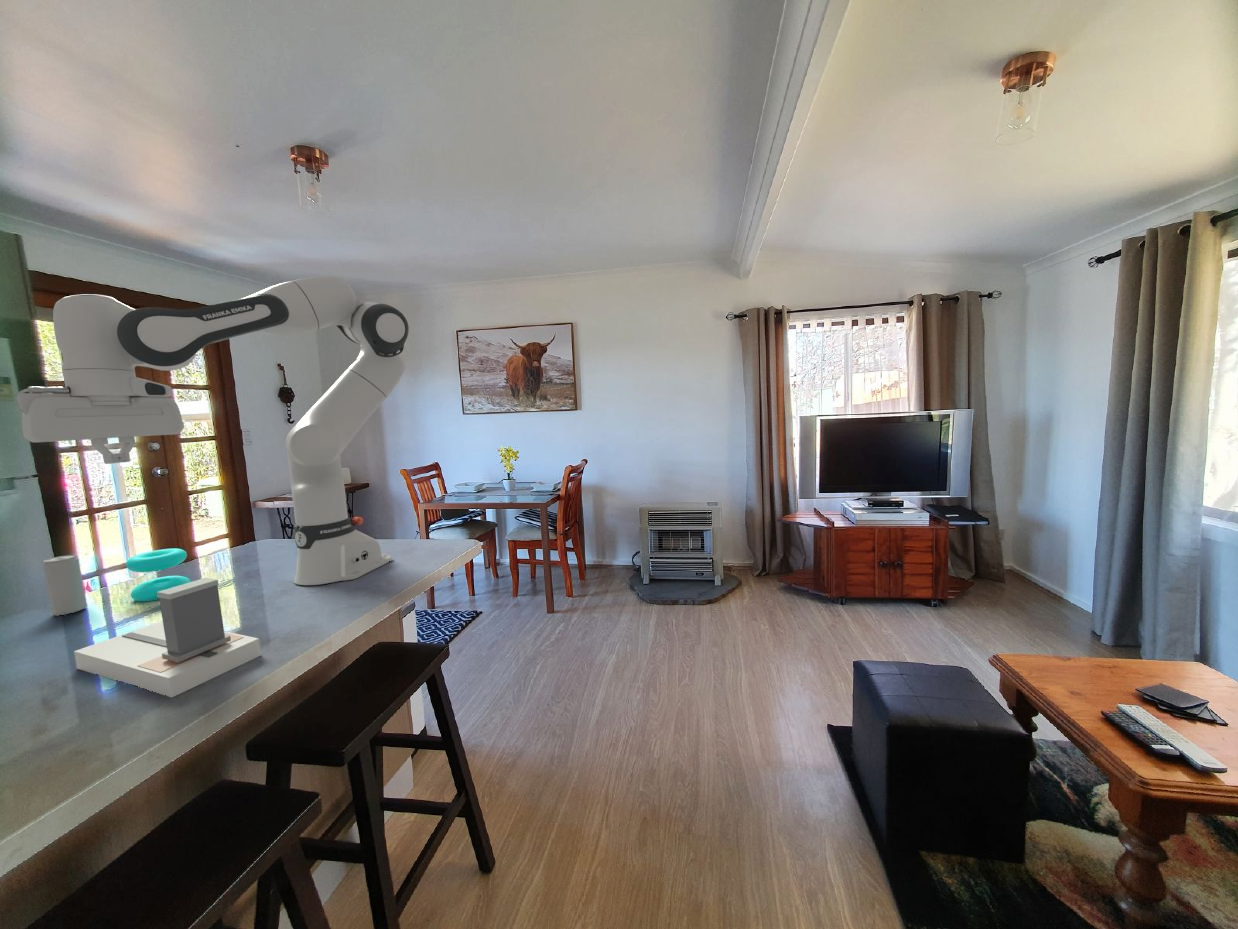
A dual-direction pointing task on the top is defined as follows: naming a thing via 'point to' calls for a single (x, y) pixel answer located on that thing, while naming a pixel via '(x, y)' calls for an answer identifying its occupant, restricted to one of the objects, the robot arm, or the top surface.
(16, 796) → the top surface
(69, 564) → the beverage can
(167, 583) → the donuts
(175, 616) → the fader knob
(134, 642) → the fader console
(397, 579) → the top surface
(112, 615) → the top surface
